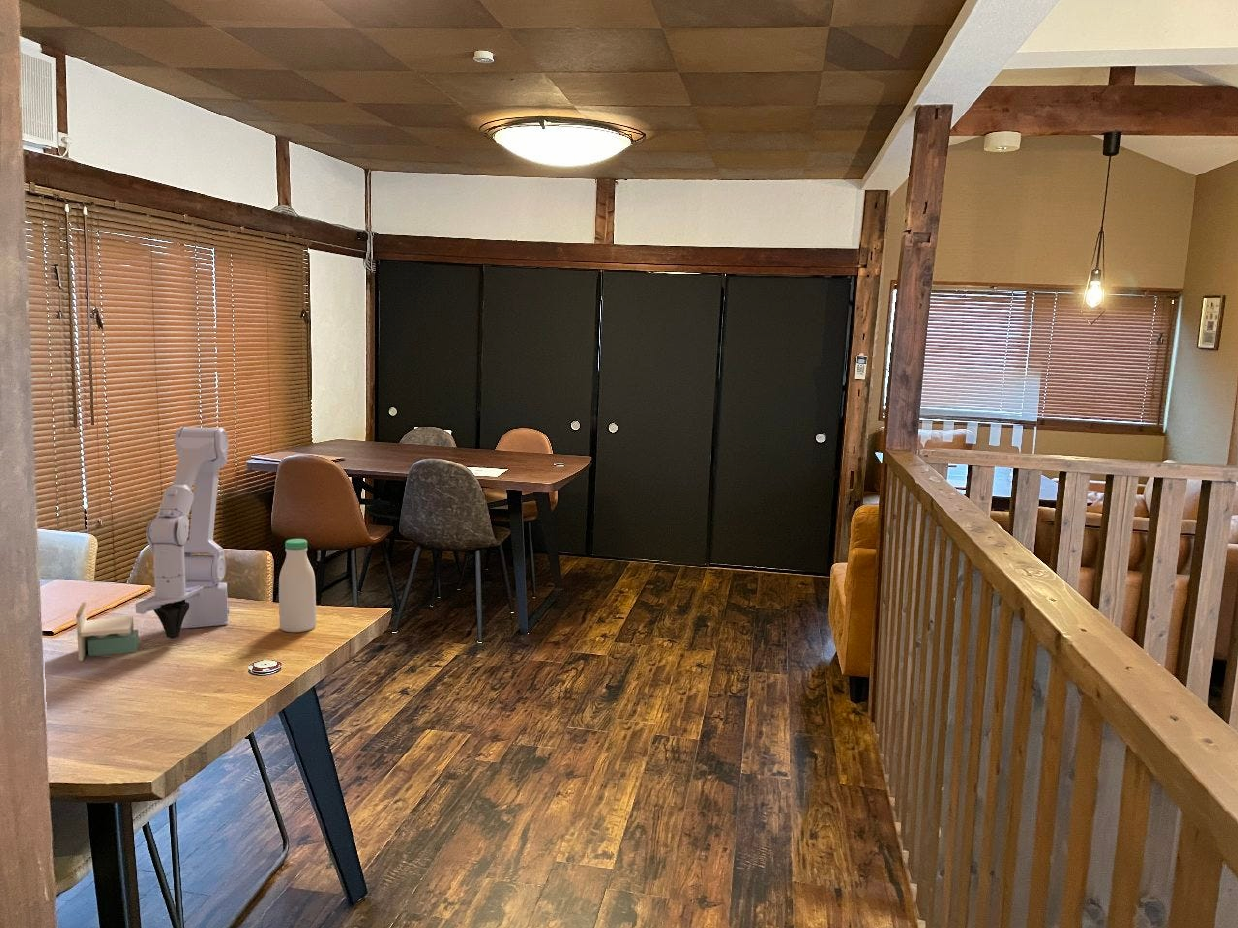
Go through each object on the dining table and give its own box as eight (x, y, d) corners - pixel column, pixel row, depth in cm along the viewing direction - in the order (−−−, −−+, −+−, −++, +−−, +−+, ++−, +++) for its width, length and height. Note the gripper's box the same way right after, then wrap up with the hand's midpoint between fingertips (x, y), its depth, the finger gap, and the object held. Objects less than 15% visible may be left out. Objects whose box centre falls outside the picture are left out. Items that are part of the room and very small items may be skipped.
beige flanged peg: (134, 642, 189) (132, 598, 188) (130, 656, 182) (128, 610, 181) (85, 647, 186) (82, 602, 184) (79, 661, 179) (76, 614, 177)
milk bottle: (322, 628, 202) (321, 541, 199) (290, 635, 197) (288, 546, 194) (305, 619, 207) (303, 534, 204) (273, 627, 202) (271, 540, 199)
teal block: (139, 645, 189) (138, 625, 188) (136, 652, 185) (135, 633, 184) (92, 649, 186) (91, 629, 185) (88, 656, 182) (87, 636, 181)
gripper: (186, 563, 194) (189, 623, 196) (124, 579, 181) (127, 644, 183) (209, 568, 191) (212, 629, 193) (147, 585, 178) (151, 650, 180)
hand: (172, 637), depth 188 cm, fingers closed
